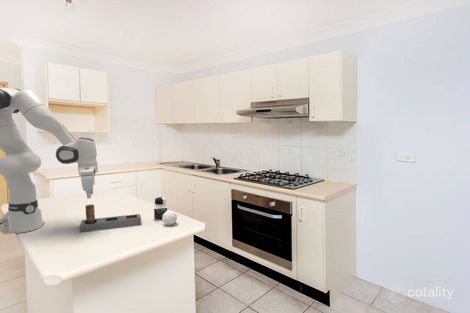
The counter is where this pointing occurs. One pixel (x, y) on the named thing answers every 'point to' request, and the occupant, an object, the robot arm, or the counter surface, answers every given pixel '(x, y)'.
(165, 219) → the ball
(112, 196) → the counter surface
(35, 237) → the counter surface
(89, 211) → the walnut peg
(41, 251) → the counter surface
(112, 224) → the rectangular metal frame
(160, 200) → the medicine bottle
